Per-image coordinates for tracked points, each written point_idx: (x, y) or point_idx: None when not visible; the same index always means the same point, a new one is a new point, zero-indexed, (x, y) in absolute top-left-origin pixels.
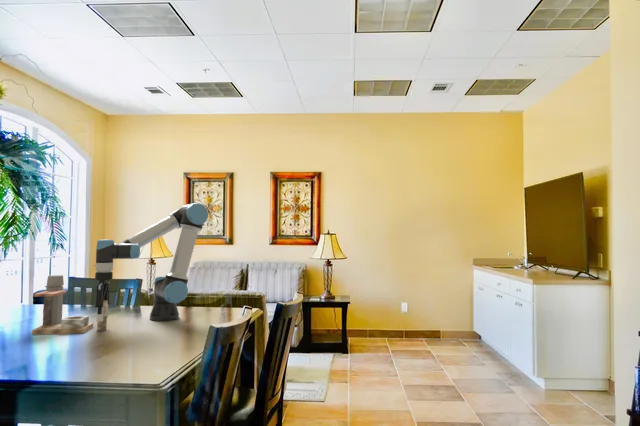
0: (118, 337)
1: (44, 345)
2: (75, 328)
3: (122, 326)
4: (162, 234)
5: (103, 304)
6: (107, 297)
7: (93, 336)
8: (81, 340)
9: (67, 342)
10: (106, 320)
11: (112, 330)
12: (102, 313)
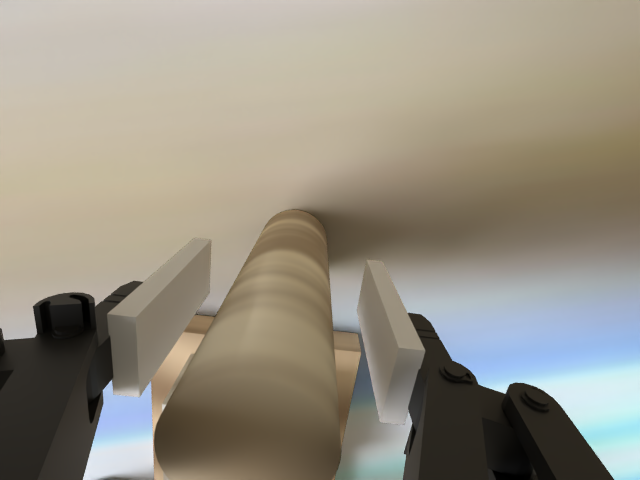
0: (628, 81)
1: (608, 457)
2: (338, 404)
3: (168, 90)
4: None
5: (334, 381)
6: (50, 442)
7: (496, 267)
8: (585, 318)
9: (598, 377)
10: (296, 233)
11: (325, 160)
12: (400, 304)
